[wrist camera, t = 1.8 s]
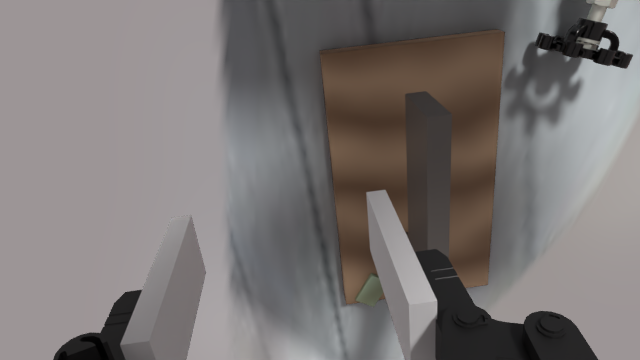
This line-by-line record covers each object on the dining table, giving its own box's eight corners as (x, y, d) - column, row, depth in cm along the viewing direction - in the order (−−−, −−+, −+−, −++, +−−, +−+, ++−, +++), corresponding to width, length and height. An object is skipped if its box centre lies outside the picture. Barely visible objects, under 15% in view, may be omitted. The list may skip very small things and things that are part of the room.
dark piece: (364, 76, 36) (418, 149, 22) (426, 68, 36) (517, 137, 22) (378, 298, 45) (421, 445, 31) (426, 291, 45) (491, 434, 32)
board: (319, 50, 36) (321, 55, 34) (496, 29, 37) (507, 32, 35) (344, 297, 47) (347, 310, 45) (481, 278, 47) (489, 290, 46)
